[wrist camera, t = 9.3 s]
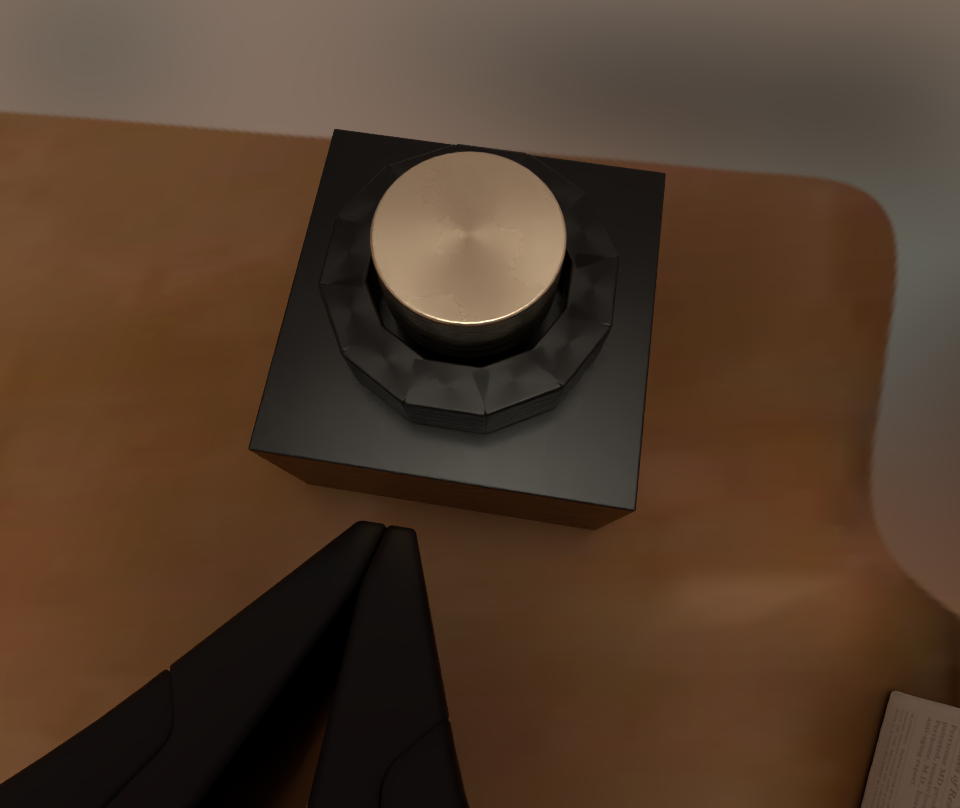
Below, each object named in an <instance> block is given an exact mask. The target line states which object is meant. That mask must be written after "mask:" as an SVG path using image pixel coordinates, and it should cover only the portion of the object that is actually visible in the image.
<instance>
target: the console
mask: <svg viewBox="0 0 960 808" xmlns="http://www.w3.org/2000/svg"><path fill="white" fill-rule="evenodd" d="M471 151H472V152H484V153H489V154H494V155H498V156H501V157H505V158H508V159H510V160H512V161H514V162H517V163H519V164H520V165H522V166H524V167H525V168H527V169H529V170H530V171H531V172H533V173H534V174H535V175H536V176H538V177H539V178H540V179H541V180H542V181H543V182H544V183H545V184H546V186H547V187H548V188H549V189H550V191H551V192H552V193H553V195H554V197H555V198H556V200H557V202H558V204H559V206H560V208H561V211H562V213H563V216H564V220H565V224H566V232H567V246H566V253H565V258H564V262H563V266H562V270H561V274H560V278H559V282H558V286H557V290H556V294H555V298H554V301H553V303H552V306H551V309H550V311H549V313H548V314H547V316H546V318H545V319H544V321H543V322H542V324H541V325H540V326H539V327H538V328H537V330H536V331H535V332H534V333H533V334H532V335H531V336H529V337H528V338H527V339H525V340H524V341H523V342H521V343H520V344H518V345H516V346H515V347H513V348H511V349H509V350H506V351H504V352H502V353H498V354H495V355H491V356H486V357H480V358H461V357H453V356H448V355H443V354H441V353H438V352H435V351H432V350H430V349H428V348H426V347H424V346H422V345H421V344H419V343H418V342H416V341H415V340H413V339H412V338H411V337H410V336H409V335H408V334H406V333H405V332H404V331H403V329H402V328H401V327H400V326H399V325H398V324H397V322H396V320H395V319H394V317H393V316H392V314H391V312H390V310H389V308H388V305H387V303H386V300H385V297H384V294H383V291H382V288H381V285H380V282H379V279H378V276H377V273H376V270H375V267H374V263H373V260H372V256H371V249H370V230H371V224H372V220H373V217H374V214H375V211H376V209H377V206H378V204H379V202H380V200H381V199H382V197H383V196H384V194H385V193H386V191H387V190H388V188H389V187H390V186H391V185H392V184H393V183H394V182H395V181H396V180H397V179H398V178H399V177H400V176H401V175H402V174H403V173H405V172H406V171H408V170H409V169H411V168H412V167H414V166H416V165H417V164H419V163H421V162H423V161H425V160H428V159H431V158H433V157H436V156H440V155H444V154H448V153H455V152H471ZM665 177H666V175H665V173H660V172H653V171H645V170H638V169H630V168H623V167H615V166H608V165H601V164H593V163H586V162H578V161H571V160H563V159H556V158H548V157H541V156H533V155H530V154H528V155H527V154H526V153H522V152H514V151H507V150H499V149H492V148H484V147H477V146H470V145H462V144H457V145H451V144H444V143H436V142H429V141H422V140H414V139H407V138H399V137H391V136H384V135H376V134H369V133H362V132H354V131H347V130H340V129H335V130H334V132H333V136H332V140H331V143H330V147H329V151H328V154H327V158H326V162H325V166H324V169H323V173H322V177H321V180H320V184H319V188H318V192H317V195H316V199H315V203H314V206H313V210H312V214H311V218H310V221H309V225H308V229H307V232H306V236H305V240H304V244H303V247H302V251H301V255H300V258H299V262H298V266H297V270H296V273H295V277H294V281H293V284H292V288H291V292H290V296H289V299H288V303H287V307H286V310H285V314H284V318H283V322H282V325H281V329H280V333H279V336H278V340H277V344H276V348H275V351H274V355H273V359H272V362H271V366H270V370H269V374H268V377H267V381H266V385H265V388H264V392H263V396H262V400H261V403H260V407H259V411H258V414H257V418H256V422H255V426H254V429H253V433H252V437H251V440H250V444H249V450H250V451H252V452H254V453H256V454H257V455H259V456H261V457H262V458H264V459H266V460H268V461H269V462H271V463H273V464H274V465H276V466H278V467H280V468H281V469H283V470H285V471H287V472H288V473H290V474H292V475H293V476H295V477H297V478H299V479H300V480H302V481H304V482H305V483H307V484H311V485H317V486H323V487H330V488H336V489H342V490H348V491H354V492H361V493H367V494H373V495H379V496H385V497H392V498H398V499H404V500H410V501H416V502H423V503H429V504H435V505H441V506H447V507H454V508H460V509H466V510H472V511H478V512H485V513H491V514H497V515H503V516H509V517H516V518H522V519H528V520H534V521H540V522H547V523H553V524H559V525H565V526H571V527H578V528H584V529H590V530H596V529H598V528H600V527H603V526H605V525H607V524H609V523H611V522H613V521H615V520H617V519H619V518H621V517H623V516H625V515H627V514H630V513H632V512H634V511H635V510H636V501H637V490H638V478H639V467H640V456H641V445H642V434H643V423H644V411H645V400H646V389H647V378H648V367H649V356H650V344H651V333H652V322H653V311H654V300H655V288H656V277H657V266H658V255H659V244H660V233H661V221H662V210H663V199H664V188H665Z"/></svg>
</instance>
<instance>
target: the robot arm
mask: <svg viewBox="0 0 960 808" xmlns="http://www.w3.org/2000/svg"><path fill="white" fill-rule="evenodd" d="M307 804H308V805H307ZM306 806H307V808H469V804H468V801H467V797H466V794H465V790H464V786H463V781H462V777H461V772H460V768H459V763H458V759H457V754H456V749H455V744H454V739H453V733H452V728H451V722H450V721H449V713H448V707H447V702H446V696H445V691H444V685H443V679H442V674H441V668H440V663H439V657H438V652H437V646H436V641H435V635H434V630H433V624H432V619H431V613H430V608H429V602H428V597H427V591H426V585H425V580H424V574H423V569H422V563H421V558H420V552H419V547H418V541H417V536H416V532H415V530H413V529H411V528H405V527H399V526H393V525H392V526H389V527H387V528H386V526H385V525H384V524H381V523H374V522H368V521H358V522H356V523H355V524H354V525H352V526H351V527H350V528H348V529H347V530H346V531H344V532H343V533H342V534H341V535H339V536H338V537H337V538H335V539H334V540H333V541H331V542H330V543H329V544H328V545H326V546H325V547H324V548H322V549H321V550H320V551H318V552H317V553H316V554H315V555H313V556H312V557H311V558H309V559H308V560H307V561H305V562H304V563H303V564H302V565H300V566H299V567H298V568H296V569H295V570H294V571H292V572H291V573H290V574H289V575H287V576H286V577H285V578H283V579H282V580H281V581H279V582H278V583H277V584H276V585H274V586H273V587H272V588H270V589H269V590H268V591H267V592H265V593H264V594H263V595H261V596H260V597H259V598H257V599H256V600H255V601H254V602H252V603H251V604H250V605H248V606H247V607H246V608H244V609H243V610H242V611H241V612H239V613H238V614H237V615H235V616H234V617H233V618H231V619H230V620H229V621H228V622H226V623H225V624H224V625H222V626H221V627H220V628H218V629H217V630H216V631H215V632H213V633H212V634H211V635H209V636H208V637H207V638H205V639H204V640H203V641H202V642H200V643H199V644H198V645H196V646H195V647H194V648H192V649H191V650H190V651H189V652H187V653H186V654H185V655H183V656H182V657H181V658H179V659H178V660H177V661H176V662H174V663H173V664H172V665H171V666H170V671H169V670H164V671H162V672H161V673H160V674H158V675H157V676H156V677H154V678H153V679H152V680H150V681H149V682H148V683H147V684H145V685H144V686H143V687H141V688H140V689H139V690H137V691H136V692H135V693H133V694H132V695H131V696H129V697H128V698H127V699H125V700H124V701H122V702H121V703H120V704H118V705H117V706H116V707H114V708H113V709H112V710H110V711H109V712H107V713H106V714H105V715H103V716H102V717H101V718H99V719H98V720H97V721H95V722H94V723H92V724H91V725H89V726H88V727H86V728H85V729H83V730H82V731H80V732H79V733H77V734H76V735H74V736H73V737H71V738H70V739H68V740H67V741H65V742H64V743H63V744H61V745H60V746H58V747H57V748H55V749H54V750H52V751H51V752H49V753H48V754H46V755H45V756H43V757H42V758H40V759H38V760H37V761H35V762H34V763H32V764H31V765H29V766H28V767H26V768H25V769H23V770H21V771H20V772H18V773H17V774H15V775H14V776H12V777H11V778H9V779H8V780H6V781H4V782H3V783H1V784H0V808H306Z"/></svg>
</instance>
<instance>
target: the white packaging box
mask: <svg viewBox="0 0 960 808" xmlns="http://www.w3.org/2000/svg"><path fill="white" fill-rule="evenodd" d="M861 808H960V708H956V707H953V706H949V705H946V704H942V703H938V702H934V701H930V700H926V699H922V698H919V697H915V696H911V695H908V694H904V693H901V692H899V691H893V692H891V694H890V699H889V702H888V705H887V708H886V712H885V716H884V720H883V723H882V727H881V730H880V735H879V739H878V742H877V746H876V751H875V754H874V758H873V763H872V766H871V769H870V773H869V776H868V780H867V784H866V789H865V793H864V797H863V801H862V804H861Z"/></svg>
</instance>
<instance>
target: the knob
mask: <svg viewBox="0 0 960 808" xmlns="http://www.w3.org/2000/svg"><path fill="white" fill-rule="evenodd" d="M566 246H567V232H566V224H565V220H564V216H563V213H562V211H561V208H560V206H559V204H558V202H557V200H556V198H555V197H554V195H553V193H552V192H551V191H550V189H549V188H548V187H547V186H546V184H545V183H544V182H543V181H542V180H541V179H540V178H539V177H538V176H536V175H535V174H534V173H533V172H531V171H530V170H529V169H527V168H525V167H524V166H522V165H520V164H519V163H517V162H514V161H512V160H510V159H508V158H505V157H501V156H498V155H494V154H489V153H484V152H472V151H471V152H455V153H448V154H444V155H440V156H436V157H433V158H431V159H428V160H425V161H423V162H421V163H419V164H417V165H416V166H414V167H412V168H411V169H409V170H408V171H406V172H405V173H403V174H402V175H401V176H400V177H399V178H398V179H397V180H396V181H395V182H394V183H393V184H392V185H391V186H390V187H389V188H388V190H387V191H386V193H385V194H384V196H383V197H382V199H381V200H380V202H379V204H378V206H377V209H376V211H375V214H374V217H373V220H372V224H371V230H370V249H371V256H372V260H373V263H374V267H375V270H376V273H377V276H378V279H379V282H380V285H381V288H382V291H383V294H384V297H385V300H386V303H387V305H388V308H389V310H390V312H391V314H392V316H393V317H394V319H395V320H396V322H397V324H398V325H399V326H400V327H401V328H402V329H403V331H404V332H405V333H406V334H408V335H409V336H410V337H411V338H412V339H413V340H415V341H416V342H418V343H419V344H421V345H422V346H424V347H426V348H428V349H430V350H432V351H435V352H438V353H441V354H443V355H448V356H453V357H461V358H480V357H486V356H491V355H495V354H498V353H502V352H504V351H506V350H509V349H511V348H513V347H515V346H516V345H518V344H520V343H521V342H523V341H524V340H525V339H527V338H528V337H529V336H531V335H532V334H533V333H534V332H535V331H536V330H537V328H538V327H539V326H540V325H541V324H542V322H543V321H544V319H545V318H546V316H547V314H548V313H549V311H550V309H551V306H552V303H553V301H554V298H555V294H556V290H557V286H558V282H559V278H560V274H561V270H562V266H563V262H564V258H565V253H566Z"/></svg>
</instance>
